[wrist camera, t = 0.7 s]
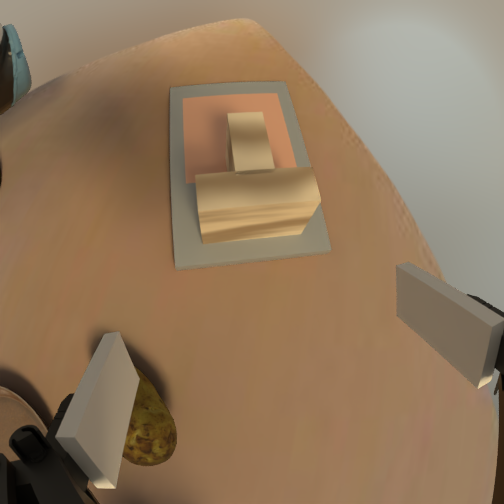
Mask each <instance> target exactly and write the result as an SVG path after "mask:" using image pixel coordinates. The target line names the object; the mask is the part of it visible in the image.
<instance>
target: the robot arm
mask: <svg viewBox="0 0 504 504" xmlns="http://www.w3.org/2000/svg"><path fill="white" fill-rule="evenodd" d="M30 87H31V75H30V71H29V67H28V64H27V61H26V58H25V55H24V53H23V49H22V45H21V42H20V39H19V37H18V34H17V32H16V29H15V28H14V26H13V25H12V24H9V25H6V26H3V27H2V25H1V24H0V115H1V114H3V113H4V112H5V111H7V110H8V109H9V108H11V107H12V106H14V104H15V103H16V102H17V101H18V100H19V99H21V98H22V97H23V96H24V95H26V94H27V93H28V91H29V90H30ZM0 184H1V170H0ZM396 285H397V316H398V317H399V318H400V319H401V320H402V321H403V322H404V323H406V324H407V325H408V326H409V327H410V328H411V329H412V330H414V331H415V332H416V333H417V334H418V335H419V336H420V337H421V338H423V339H424V340H425V341H426V342H427V343H428V344H429V345H430V346H432V347H433V348H434V349H435V350H436V351H437V352H438V353H439V354H440V355H442V356H443V357H444V358H445V359H446V360H447V361H448V362H449V363H450V364H451V365H452V366H454V367H455V368H456V369H457V370H458V371H459V372H460V373H461V374H462V375H463V376H464V377H465V378H467V379H468V380H469V381H470V382H471V383H472V384H473V385H474V386H475V387H476V388H477V389H478V388H480V387H482V386H483V385H485V384H486V383H488V382H490V381H491V379H492V376H493V372H494V368H496V369H497V370H498V371H499V372H500V374H499V378H498V381H497V384H496V388H495V391H494V395H495V394H496V393H497V390H498V389H499V439H498V456H497V468H496V477H495V485H494V493H493V499H492V504H504V312H502V311H500V310H499V309H497V308H495V307H493V306H492V305H490V304H489V303H486V302H485V301H484V300H482V299H480V298H479V297H476V296H472V295H469V294H467V295H466V294H464V293H462V292H461V291H459V290H457V289H456V288H454V287H452V286H450V285H449V284H447V283H445V282H443V281H442V280H440V279H438V278H437V277H435V276H433V275H431V274H429V273H428V272H426V271H424V270H422V269H421V268H419V267H417V266H415V265H413V264H412V263H410V262H407V263H403V264H400V265H396ZM139 380H140V378H139V376H138V374H137V372H136V370H135V368H134V365H133V363H132V361H131V359H130V356H129V354H128V352H127V349H126V347H125V345H124V342H123V340H122V337H121V335H120V332H119V331H118V332H112V333H107V334H104V336H103V338H102V340H101V341H100V343H99V345H98V347H97V349H96V351H95V353H94V355H93V357H92V359H91V361H90V363H89V365H88V367H87V369H86V371H85V373H84V375H83V377H82V379H81V381H80V383H79V385H78V388H77V390H76V392H75V393H74V394H69V395H68V396H67V397H66V398H65V399H64V400H63V401H62V402H61V404H60V406H59V409H58V413H56V415H55V417H54V420H53V421H52V423H51V425H50V428H49V430H48V432H47V434H46V436H45V437H44V435H43V434H42V432H41V431H40V430H39V428H38V427H37V426H35V425H25V426H22V427H20V428H19V429H17V430H16V431H15V432H14V433H13V434H12V435H11V437H10V439H9V447H10V448H11V449H12V450H13V452H14V453H15V454H16V455H17V456H18V458H19V459H20V460H15V461H9V460H8V459H7V458H6V456H5V455H4V454H3V453H0V504H99V502H98V501H97V499H96V498H95V497H94V495H93V494H92V492H91V491H90V490H89V489H88V488H87V484H88V480H90V481H91V482H92V483H93V484H94V485H95V486H96V487H97V488H112V489H116V485H117V480H118V474H119V469H120V464H121V459H122V454H123V449H124V444H125V440H126V435H127V431H128V426H129V422H130V417H131V413H132V409H133V404H134V400H135V396H136V392H137V388H138V384H139Z"/></svg>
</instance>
